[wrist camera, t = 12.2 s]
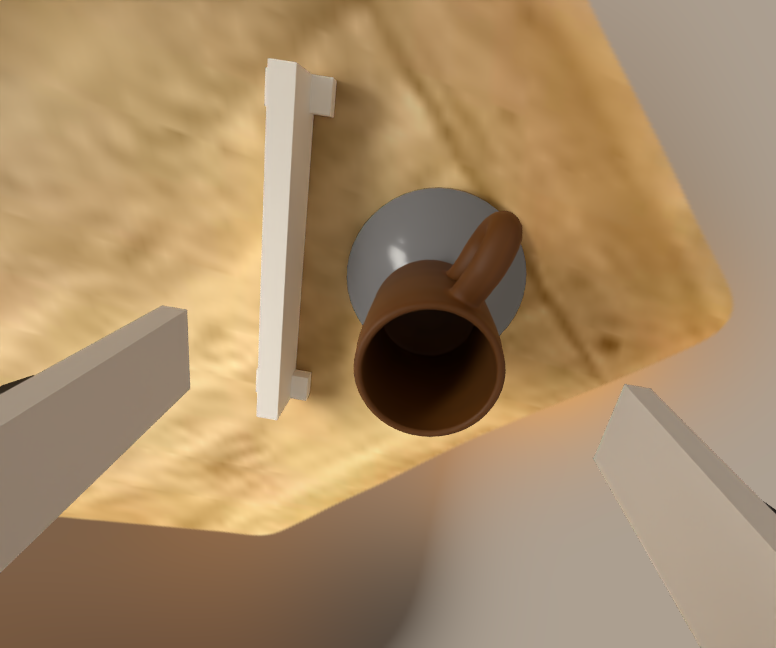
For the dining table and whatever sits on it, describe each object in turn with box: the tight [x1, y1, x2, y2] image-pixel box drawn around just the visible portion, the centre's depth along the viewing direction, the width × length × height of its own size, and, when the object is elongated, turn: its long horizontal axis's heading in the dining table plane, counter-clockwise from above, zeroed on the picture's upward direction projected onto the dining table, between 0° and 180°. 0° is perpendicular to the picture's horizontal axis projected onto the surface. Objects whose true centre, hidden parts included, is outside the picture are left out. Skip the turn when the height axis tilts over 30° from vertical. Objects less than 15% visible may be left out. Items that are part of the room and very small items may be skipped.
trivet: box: [347, 188, 526, 336], centre depth 28 cm, size 12×12×1 cm
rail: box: [256, 58, 337, 420], centre depth 27 cm, size 4×22×4 cm, turn 172°
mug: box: [354, 211, 522, 437], centre depth 23 cm, size 12×8×9 cm, turn 154°
